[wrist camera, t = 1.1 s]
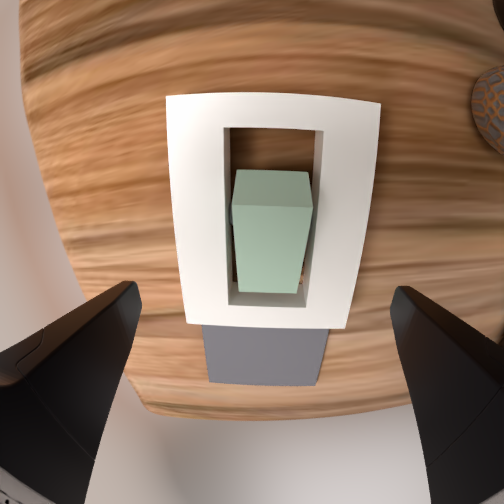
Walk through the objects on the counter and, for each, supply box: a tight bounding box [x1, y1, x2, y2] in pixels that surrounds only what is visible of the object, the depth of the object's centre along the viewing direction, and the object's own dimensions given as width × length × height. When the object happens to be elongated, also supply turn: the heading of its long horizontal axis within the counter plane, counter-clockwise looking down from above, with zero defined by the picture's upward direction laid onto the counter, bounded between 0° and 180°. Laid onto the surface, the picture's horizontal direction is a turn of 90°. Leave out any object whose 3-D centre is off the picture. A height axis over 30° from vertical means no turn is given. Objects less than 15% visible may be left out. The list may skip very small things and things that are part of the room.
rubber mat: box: [202, 324, 329, 386], centre depth 27 cm, size 11×10×1 cm
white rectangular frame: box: [166, 92, 381, 329], centre depth 20 cm, size 12×16×3 cm
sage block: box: [232, 170, 313, 294], centre depth 19 cm, size 4×8×3 cm, turn 0°
